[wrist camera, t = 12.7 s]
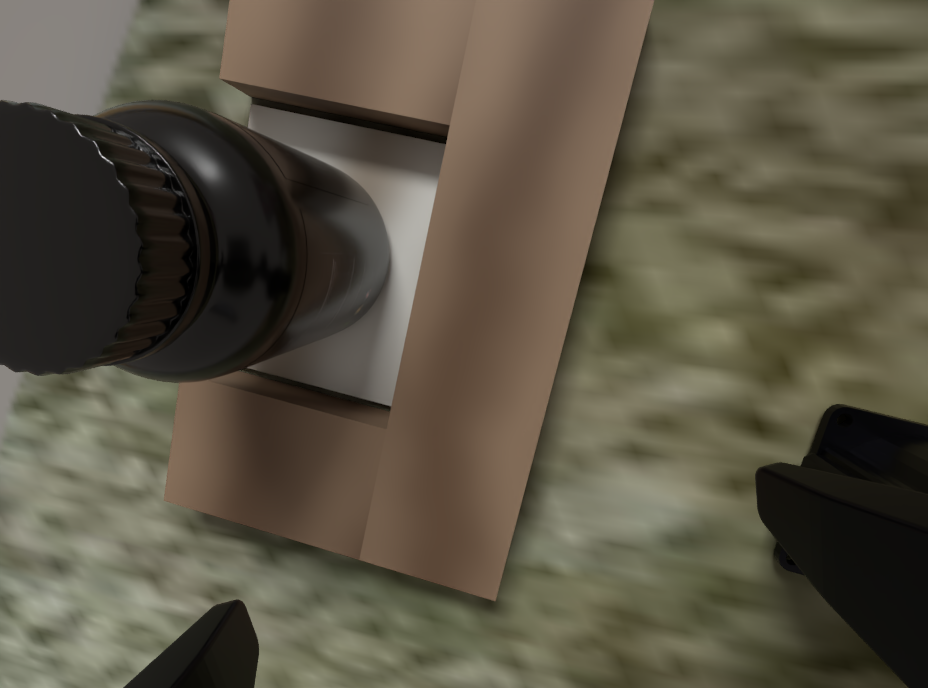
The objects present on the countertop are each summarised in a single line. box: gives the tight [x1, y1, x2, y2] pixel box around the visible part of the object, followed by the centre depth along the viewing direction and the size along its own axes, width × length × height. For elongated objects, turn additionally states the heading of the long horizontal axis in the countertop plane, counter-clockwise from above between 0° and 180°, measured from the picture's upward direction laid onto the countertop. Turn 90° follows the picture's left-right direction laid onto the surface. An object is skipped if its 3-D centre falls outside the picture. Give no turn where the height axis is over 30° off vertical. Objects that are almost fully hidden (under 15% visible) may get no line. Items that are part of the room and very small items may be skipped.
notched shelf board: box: [164, 0, 654, 601], centre depth 20 cm, size 14×22×2 cm, turn 167°
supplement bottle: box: [0, 100, 389, 383], centre depth 15 cm, size 7×7×12 cm
